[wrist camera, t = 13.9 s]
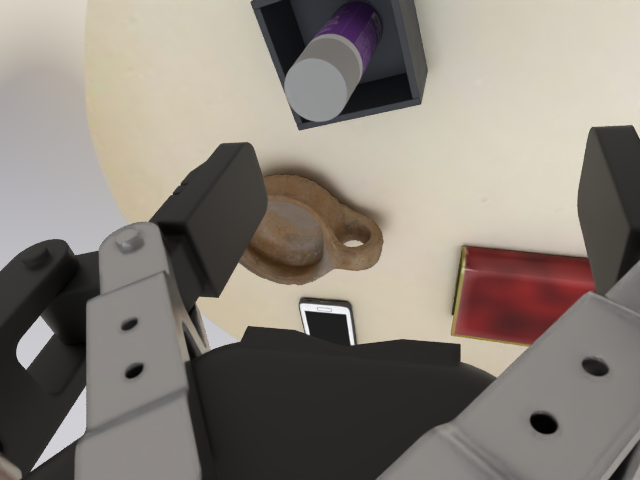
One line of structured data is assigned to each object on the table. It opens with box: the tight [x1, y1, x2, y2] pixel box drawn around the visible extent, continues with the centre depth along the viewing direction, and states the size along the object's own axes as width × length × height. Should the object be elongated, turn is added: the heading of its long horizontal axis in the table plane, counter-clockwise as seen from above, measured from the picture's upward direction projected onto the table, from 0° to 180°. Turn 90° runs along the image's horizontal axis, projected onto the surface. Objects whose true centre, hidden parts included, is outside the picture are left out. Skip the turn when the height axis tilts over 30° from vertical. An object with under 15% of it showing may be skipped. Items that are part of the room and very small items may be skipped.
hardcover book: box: [451, 246, 596, 347], centre depth 56 cm, size 12×21×4 cm, turn 94°
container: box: [284, 0, 383, 122], centre depth 38 cm, size 5×5×15 cm
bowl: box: [239, 174, 383, 285], centre depth 55 cm, size 18×14×10 cm
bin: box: [251, 0, 428, 130], centre depth 41 cm, size 11×11×8 cm
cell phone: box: [299, 299, 357, 346], centre depth 72 cm, size 8×15×1 cm, turn 8°
